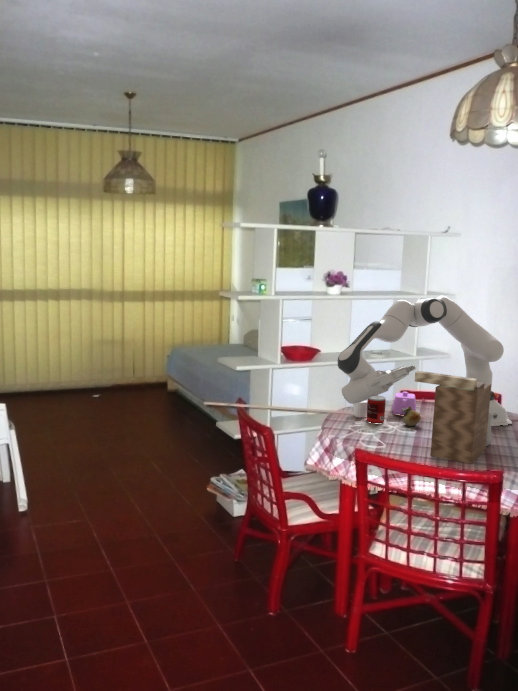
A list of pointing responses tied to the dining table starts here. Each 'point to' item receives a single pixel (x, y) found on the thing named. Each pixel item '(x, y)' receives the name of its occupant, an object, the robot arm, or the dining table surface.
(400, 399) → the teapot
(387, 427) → the dining table surface
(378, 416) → the canned food
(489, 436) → the salt shaker
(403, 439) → the dining table surface
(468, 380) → the birch rod
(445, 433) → the walnut shelf
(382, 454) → the dining table surface
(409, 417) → the onion
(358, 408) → the white cylinder
